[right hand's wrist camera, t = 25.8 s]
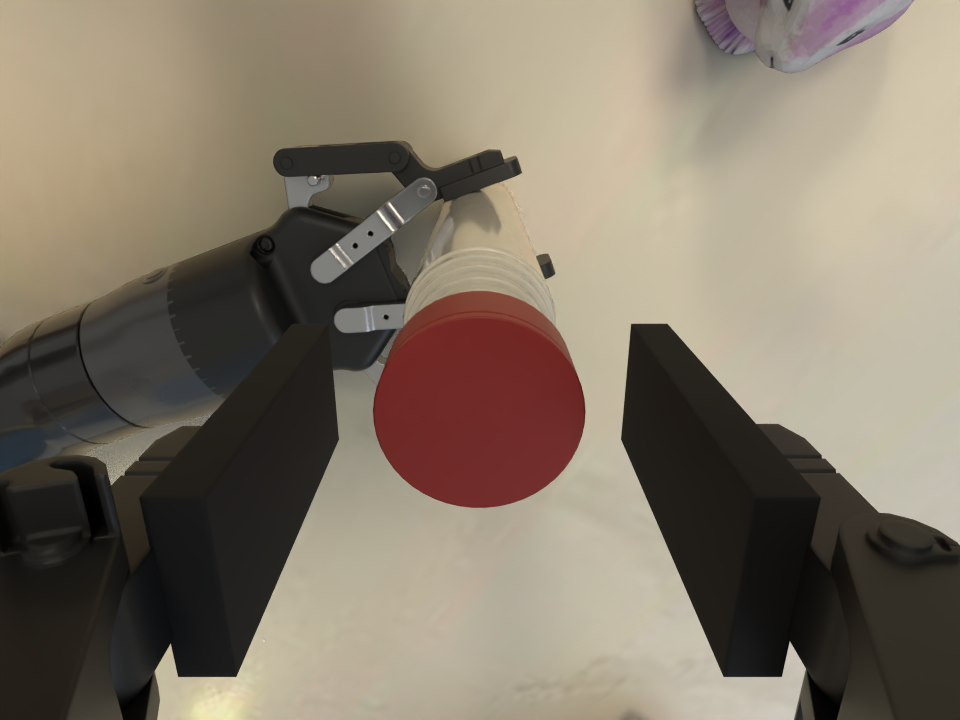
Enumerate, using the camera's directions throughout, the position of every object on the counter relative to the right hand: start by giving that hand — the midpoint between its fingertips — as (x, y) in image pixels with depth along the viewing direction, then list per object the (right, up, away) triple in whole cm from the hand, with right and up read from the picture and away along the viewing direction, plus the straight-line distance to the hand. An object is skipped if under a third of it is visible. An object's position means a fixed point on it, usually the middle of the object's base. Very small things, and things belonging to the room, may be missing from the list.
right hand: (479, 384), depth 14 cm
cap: (0, -1, -1) cm, 1 cm away
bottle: (0, +9, +23) cm, 24 cm away
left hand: (+2, +7, +16) cm, 18 cm away
